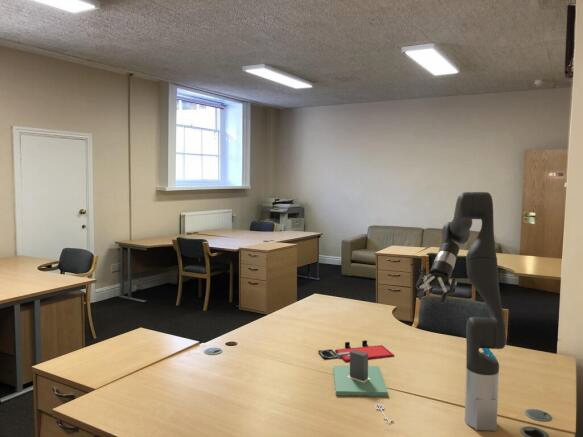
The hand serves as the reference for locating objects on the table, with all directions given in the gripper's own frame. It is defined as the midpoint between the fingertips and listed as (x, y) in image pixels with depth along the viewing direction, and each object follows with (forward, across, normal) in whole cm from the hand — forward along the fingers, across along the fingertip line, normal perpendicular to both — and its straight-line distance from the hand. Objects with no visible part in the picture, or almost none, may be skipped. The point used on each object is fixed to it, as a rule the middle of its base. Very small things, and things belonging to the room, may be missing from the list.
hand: (430, 300), depth 167 cm
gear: (-3, +10, +47) cm, 48 cm away
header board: (+34, -20, +9) cm, 40 cm away
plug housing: (+33, -20, +8) cm, 39 cm away
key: (+45, -1, -1) cm, 45 cm away
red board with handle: (+19, -36, +26) cm, 48 cm away
